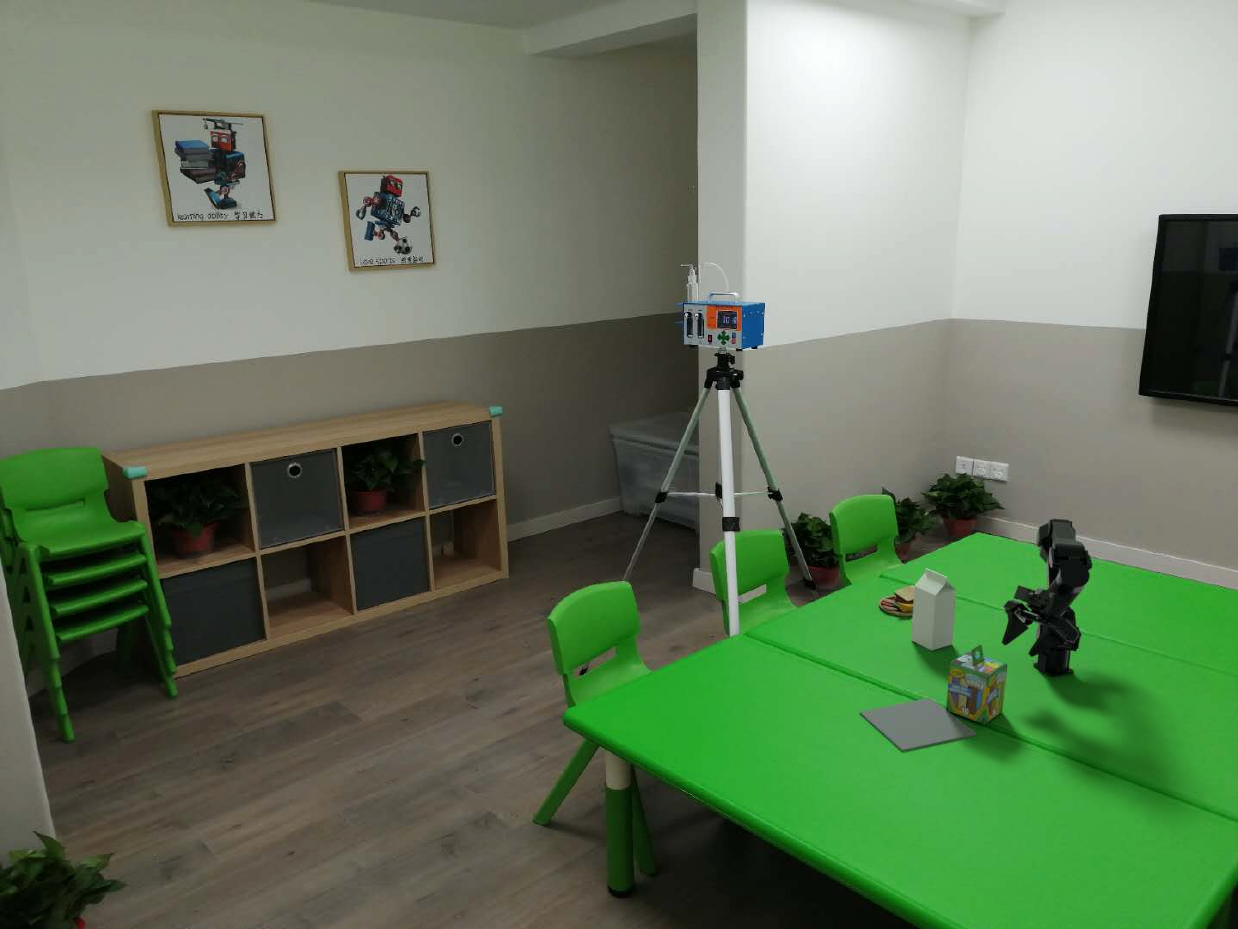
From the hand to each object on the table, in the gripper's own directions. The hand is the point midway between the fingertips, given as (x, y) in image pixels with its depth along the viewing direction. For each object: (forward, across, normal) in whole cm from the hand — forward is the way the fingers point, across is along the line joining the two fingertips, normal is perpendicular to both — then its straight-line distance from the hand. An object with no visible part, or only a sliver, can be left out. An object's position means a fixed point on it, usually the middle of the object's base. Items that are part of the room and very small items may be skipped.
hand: (1016, 649), depth 206 cm
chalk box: (+17, 0, +1) cm, 17 cm away
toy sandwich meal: (0, -54, +5) cm, 54 cm away
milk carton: (+6, -32, +4) cm, 33 cm away
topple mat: (+27, +1, -9) cm, 29 cm away
